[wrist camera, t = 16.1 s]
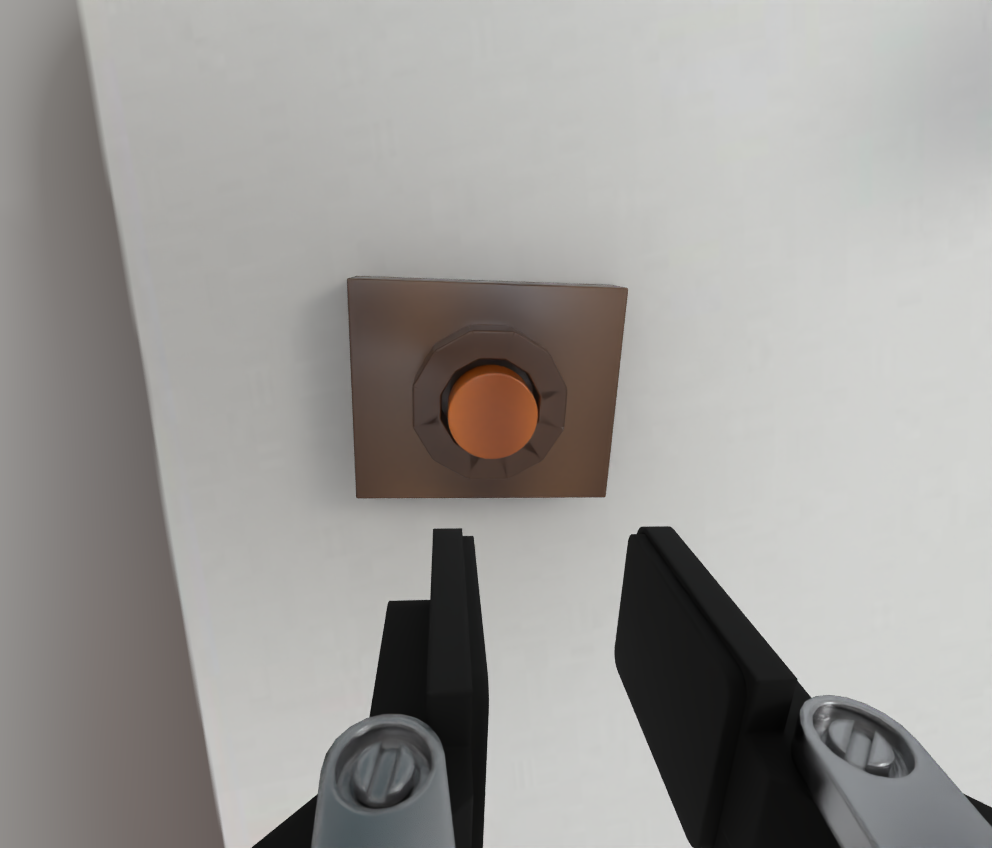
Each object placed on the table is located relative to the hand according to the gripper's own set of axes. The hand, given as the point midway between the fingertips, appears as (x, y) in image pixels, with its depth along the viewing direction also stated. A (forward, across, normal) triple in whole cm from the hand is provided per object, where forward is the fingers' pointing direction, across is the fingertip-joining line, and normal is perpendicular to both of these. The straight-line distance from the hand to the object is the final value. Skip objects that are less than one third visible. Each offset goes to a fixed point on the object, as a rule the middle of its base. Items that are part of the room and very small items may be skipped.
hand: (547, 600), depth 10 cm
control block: (+17, 0, 0) cm, 17 cm away
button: (+14, 0, 0) cm, 14 cm away
